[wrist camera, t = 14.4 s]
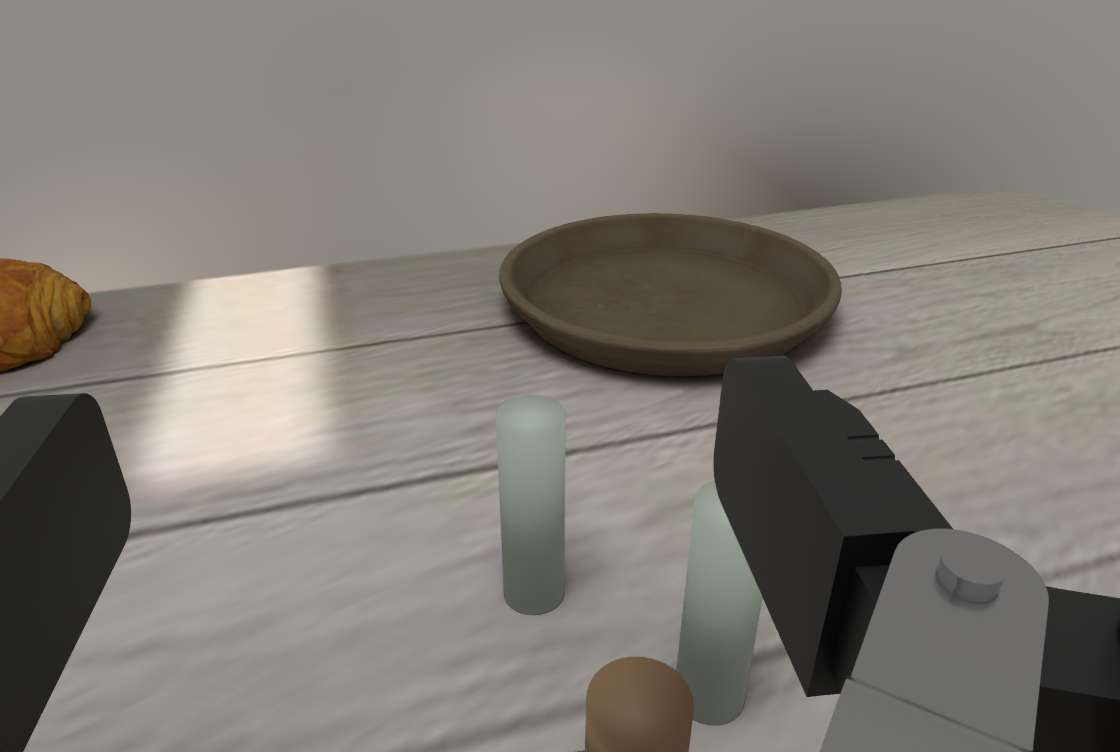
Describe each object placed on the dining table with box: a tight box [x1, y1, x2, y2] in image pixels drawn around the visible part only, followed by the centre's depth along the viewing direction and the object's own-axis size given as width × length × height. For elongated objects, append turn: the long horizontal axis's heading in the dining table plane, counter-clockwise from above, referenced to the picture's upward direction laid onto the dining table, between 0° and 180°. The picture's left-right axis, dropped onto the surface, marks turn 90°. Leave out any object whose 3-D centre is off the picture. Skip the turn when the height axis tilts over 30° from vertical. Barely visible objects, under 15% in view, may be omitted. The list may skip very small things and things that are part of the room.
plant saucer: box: [499, 213, 842, 376], centre depth 77 cm, size 31×31×5 cm
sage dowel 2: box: [676, 481, 763, 725], centre depth 38 cm, size 3×3×12 cm
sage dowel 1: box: [496, 395, 566, 615], centre depth 44 cm, size 3×3×12 cm
